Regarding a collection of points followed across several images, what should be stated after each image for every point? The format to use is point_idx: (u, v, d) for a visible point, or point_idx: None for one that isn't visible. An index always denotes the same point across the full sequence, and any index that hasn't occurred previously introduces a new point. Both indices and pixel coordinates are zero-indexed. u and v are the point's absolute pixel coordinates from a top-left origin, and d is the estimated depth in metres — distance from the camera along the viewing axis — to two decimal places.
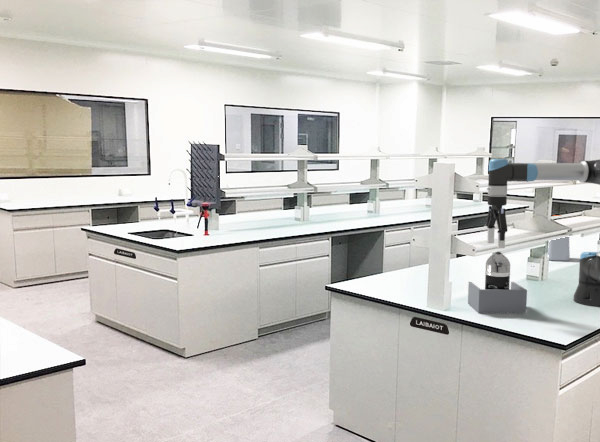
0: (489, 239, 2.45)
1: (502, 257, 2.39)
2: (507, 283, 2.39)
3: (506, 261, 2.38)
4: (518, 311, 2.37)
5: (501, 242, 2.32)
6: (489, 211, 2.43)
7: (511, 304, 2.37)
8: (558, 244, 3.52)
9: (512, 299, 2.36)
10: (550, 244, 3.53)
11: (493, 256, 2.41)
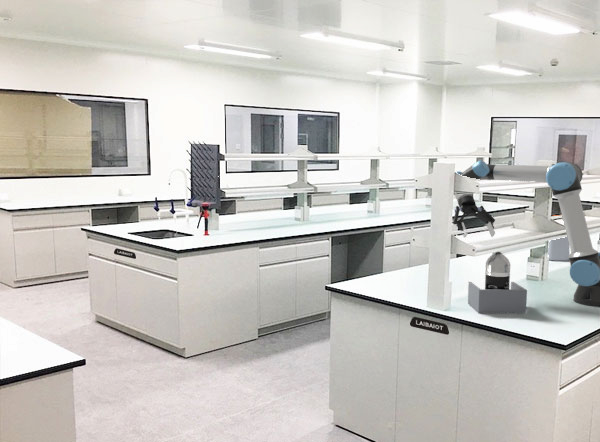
0: (490, 232, 2.59)
1: (502, 257, 2.39)
2: (507, 283, 2.39)
3: (506, 261, 2.38)
4: (518, 311, 2.37)
5: None
6: None
7: (511, 304, 2.37)
8: (558, 244, 3.52)
9: (512, 299, 2.36)
10: (550, 244, 3.53)
11: (493, 256, 2.41)
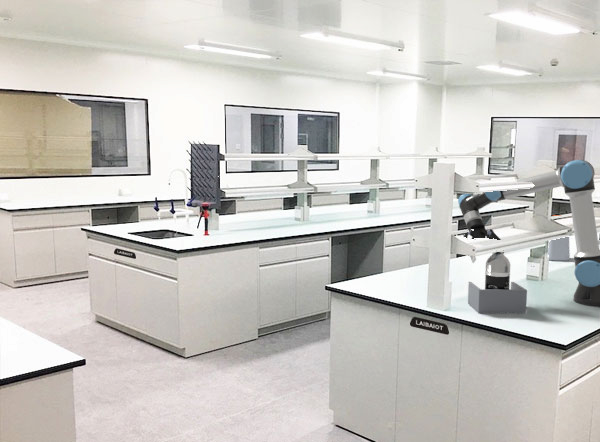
0: None
1: (502, 257, 2.39)
2: (507, 283, 2.39)
3: (506, 261, 2.38)
4: (518, 311, 2.37)
5: (471, 256, 2.49)
6: (489, 236, 2.59)
7: (511, 304, 2.37)
8: (558, 244, 3.52)
9: (512, 299, 2.36)
10: (550, 244, 3.53)
11: (493, 256, 2.41)
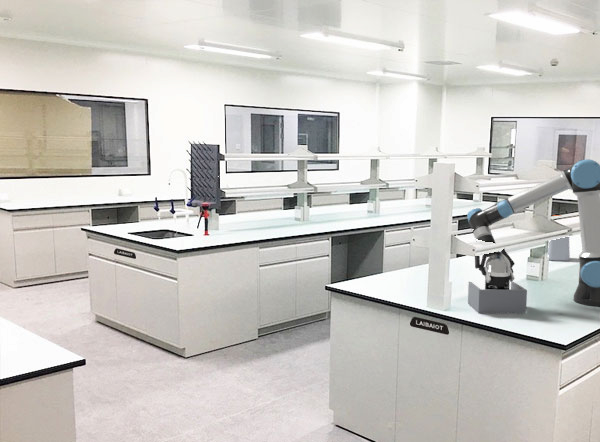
0: None
1: (502, 257, 2.39)
2: (507, 283, 2.39)
3: (506, 261, 2.38)
4: (518, 311, 2.37)
5: (486, 276, 2.41)
6: None
7: (511, 304, 2.37)
8: (558, 244, 3.52)
9: (512, 299, 2.36)
10: (550, 244, 3.53)
11: (493, 256, 2.41)
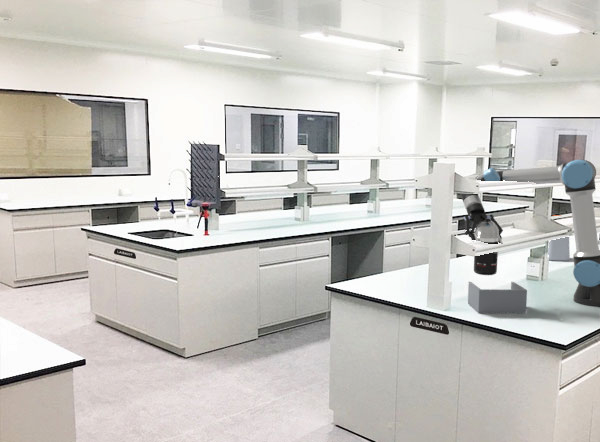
0: None
1: (491, 223, 2.48)
2: None
3: (495, 227, 2.47)
4: (518, 311, 2.37)
5: None
6: None
7: (511, 304, 2.37)
8: (558, 244, 3.52)
9: (512, 299, 2.36)
10: (550, 244, 3.53)
11: (482, 222, 2.49)
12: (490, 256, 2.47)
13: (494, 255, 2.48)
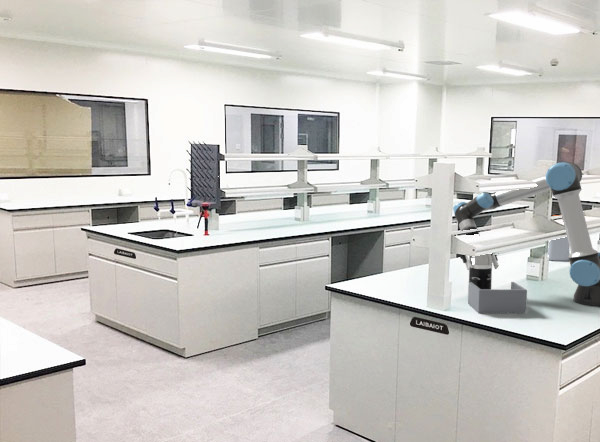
0: (494, 265, 2.59)
1: None
2: (489, 275, 2.55)
3: (488, 254, 2.54)
4: (518, 311, 2.37)
5: (467, 263, 2.57)
6: None
7: (511, 304, 2.37)
8: (558, 244, 3.52)
9: (512, 299, 2.36)
10: (550, 244, 3.53)
11: None
12: (484, 282, 2.55)
13: (488, 281, 2.55)
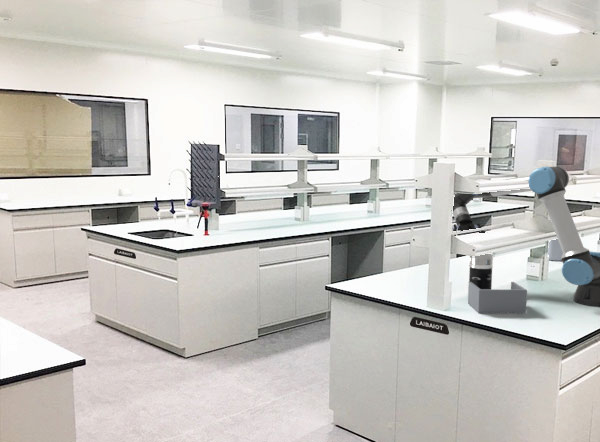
0: None
1: None
2: (489, 275, 2.55)
3: (488, 254, 2.55)
4: (518, 311, 2.37)
5: None
6: None
7: (511, 304, 2.37)
8: (558, 244, 3.52)
9: (512, 299, 2.36)
10: (550, 244, 3.53)
11: None
12: (484, 282, 2.55)
13: (488, 281, 2.55)
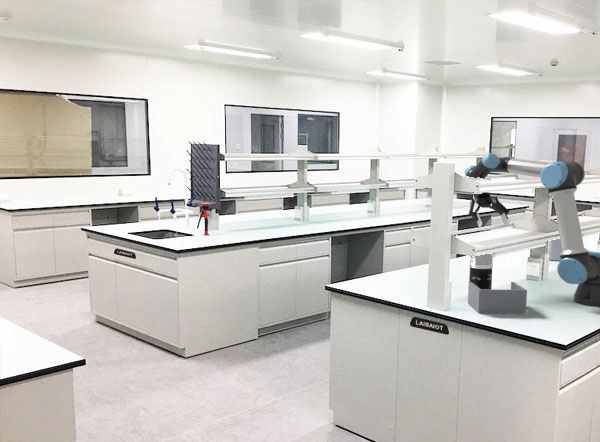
0: (504, 223, 2.72)
1: None
2: (490, 275, 2.55)
3: (489, 254, 2.54)
4: (518, 311, 2.37)
5: (478, 221, 2.69)
6: (494, 204, 2.80)
7: (511, 304, 2.37)
8: (558, 244, 3.52)
9: (512, 299, 2.36)
10: (550, 244, 3.53)
11: None
12: (484, 282, 2.55)
13: (488, 281, 2.55)
